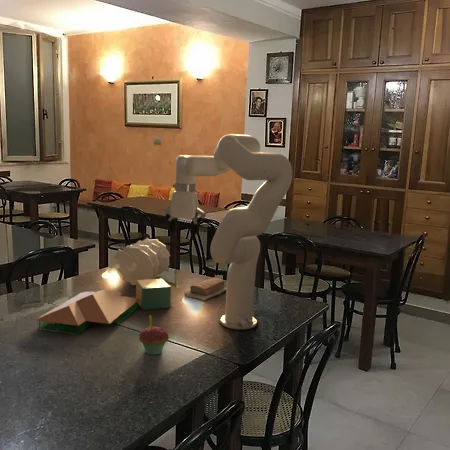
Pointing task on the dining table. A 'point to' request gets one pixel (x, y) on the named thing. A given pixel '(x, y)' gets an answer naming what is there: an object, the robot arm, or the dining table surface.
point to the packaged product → (206, 288)
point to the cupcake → (153, 338)
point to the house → (89, 310)
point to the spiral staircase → (143, 260)
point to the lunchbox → (153, 294)
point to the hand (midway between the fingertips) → (183, 232)
